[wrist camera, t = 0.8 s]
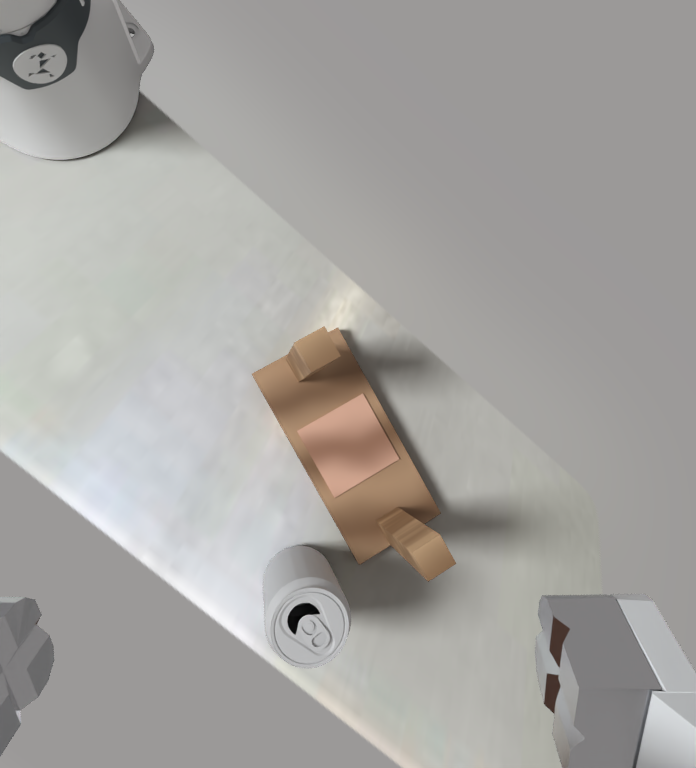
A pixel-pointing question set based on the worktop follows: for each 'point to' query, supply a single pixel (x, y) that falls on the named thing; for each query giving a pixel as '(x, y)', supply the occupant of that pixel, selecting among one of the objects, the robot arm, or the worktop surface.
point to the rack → (353, 452)
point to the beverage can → (304, 608)
